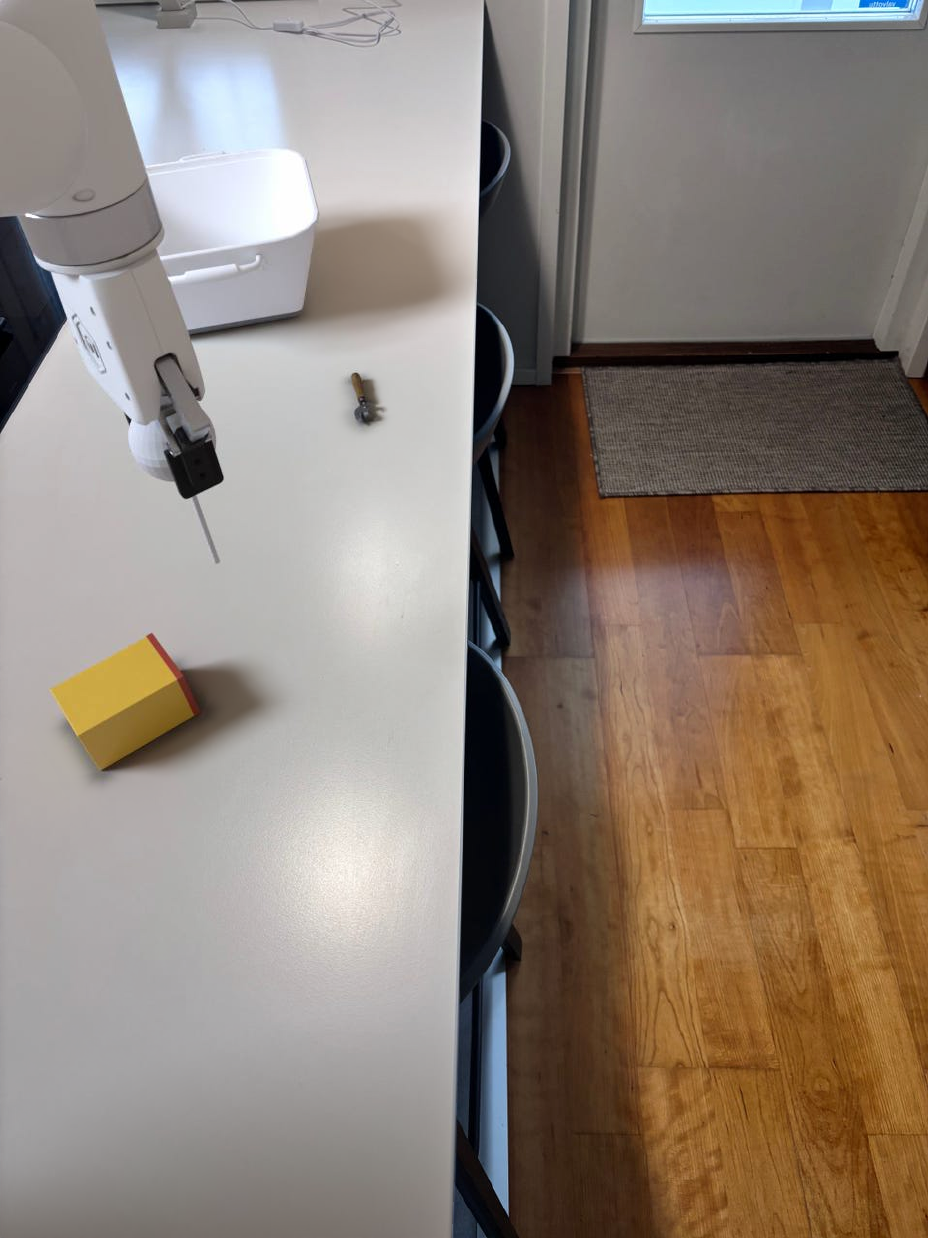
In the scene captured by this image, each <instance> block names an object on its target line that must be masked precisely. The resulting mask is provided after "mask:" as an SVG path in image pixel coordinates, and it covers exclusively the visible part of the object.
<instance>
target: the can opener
mask: <svg viewBox="0 0 928 1238" xmlns="http://www.w3.org/2000/svg"><path fill="white" fill-rule="evenodd" d="M350 379H351V385H352V387H353V389H354V392H355V394H356V398H357V402H358V404H359V406H357V407H356V408H355V409H354V412H353V414H354V415H353V416H354V418H355V419H356V421H357V422H359V423H361V424H364V420H363V417H364V419H365V421H366V422H367V421H370V420H371V416H370V412H369V410H368V408H369V407H371V410H373V409H374V408H375V404H374V403H372V402H367V401H368V399H367V395H366V393H365V387H364V383H363V380H362V378H361V375H360V374H359V372H352V373H351V375H350ZM362 413H363V417H362Z"/></svg>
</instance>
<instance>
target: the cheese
mask: <svg viewBox="0 0 928 1238" xmlns="http://www.w3.org/2000/svg"><path fill="white" fill-rule="evenodd" d="M49 691H50V693H51V694H52V696H53V697H54V699H55V701H56V703H57V705H58V706H59V708H60V709H61V712H62V713H63V715H64V717H65V718H66V720H67V721H68V723H69V725H70V727H71V728H72V730H73V732H74V733H75V735H76V737H77V738H78V740H79V741H80V743H81V744H82V746H83V747H84V749H85V750H86V752H87V754H88V755H89V757H90V758H91V760H92V762H93V763H94V764H95V765H96V767H97V769H98V770H99V771H103V770H104V769H107V768H108V767H110V766H112V765H113V764H114V763H116V762H119V761H120V760H122V759H123V758H125V757H126V756H129V755H131V754H132V753H134V752H135V751H137V750H139V749H141V748H142V747H144V746H146V745H147V744H150V743H151V742H153V741H154V740H156V739H157V738H159V737H161V736H162V735H164V734H166V733H167V732H169V731H171V730H172V729H174V728H176V727H178V726H179V725H181V724H183V723H185V722H186V721H189V720H190V719H191V718H194V717H197V716H198V715H200V714H201V710H200V708H199V706H198V703H197V701H196V699H195V697H194V695H193V693H192V691H191V688H190V686H189V684H188V682H187V679H186V677H185V675H184V674H183V673H182V672H181V670H180V669H179V667H178V666H177V664H176V663H175V662H174V661H173V659H172V658H171V656H170V655H169V654H168V653H167V651H166V649H165V648H164V647H163V645H162V644H161V643H160V642H159V639H157V637H156V636H155V635H154V633H152V632H151V633H148V634H147V635H145V637H144V638H141V639H140V640H138V641H136V642H134V643H132V644H130V645H128V646H126V647H124V648H123V649H121V650H119V651H117V652H116V653H114V654H111V655H110V656H108V657H107V658H105V659H103V660H101V661H99V662H97V663H96V664H93V665H91V666H90V667H88V668H86V669H84V670H82V671H81V672H79V673H77V674H75V675H73V676H72V677H70V678H67V679H65V680H64V681H62V682H61V683H58V684H56V685H55V686H53V687H51V688H49Z"/></svg>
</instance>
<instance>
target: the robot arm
mask: <svg viewBox="0 0 928 1238" xmlns="http://www.w3.org/2000/svg"><path fill="white" fill-rule="evenodd" d="M97 9H98V8H97V6H96V3H95V0H0V218H5V217H6V218H7V217H17V220H18V222H19V224H20V227H21V229H22V231H23V233H24V236H25V238H26V240H27V244H28V245H29V247H30V250H31V253H32V254H33V257H34V260H35V262H36V264H37V265H38V266H39V267H40V268H42V269H43V270H44V271H45V270H46V271H48V272H50V274H51V277H52V280H53V283H54V285H55V288H56V289H55V290H56V291H57V293H58V297H59V301H60V302H61V305H62V308H63V310H64V313H65V316H66V319H67V322H68V324H69V327H70V330H71V333H72V335H73V339H74V341H75V344H76V346H77V349H78V352H79V355H80V357H81V360H82V361H83V364H84V366H85V368H86V369H87V371H88V372H89V375H90V376H91V377H92V378H93V379H94V381H95V382H96V383H97V384H98V385H99V386H100V387H101V388H102V389H103V391H104V392H105V393H106V394H107V395H108V396H109V397H110V398H111V400H112V401H113V402H114V403H115V405H117V406H118V407H119V409H121V410H122V412H123V415H124V416H125V419H126V421H127V424H128V426H129V427H130V423H131V420H133V421H134V422H136V423H138V424H141V425H145V426H146V425H149V424H150V423H149V422H152V421H155V423H156V425H157V427H158V429H159V431H160V433H161V435H162V437H163V440H164V442H165V444H166V446H167V448H168V449H167V450H165V451H163V452H164V454H165V457H166V460H167V462H168V465H169V468H170V470H171V473H172V476H173V478H174V481H175V482H174V484H175V487H176V489H177V492H178V494H179V495H180V496H181V498H182V499H184V500H189V499H191V497H193V496H195V495H196V496H198V495H199V494H201V493H204V492H205V491H207V490H210V489H212V488H214V487H215V486H218V485H220V484H221V483H223V482H224V480H225V476H224V472H223V470H222V467H221V464H220V461H219V458H218V454H217V452H216V449H215V448H214V445H213V442H212V437H211V434H210V431H209V429H210V423H209V421H208V419H207V417H206V415H205V413H206V412H205V411H204V409H203V408H202V407H201V405H200V403H199V402H201V401H203V399H204V396H205V393H206V387H205V382H204V378H203V374H202V370H201V366H200V364H199V360H198V356H197V353H196V351H195V347H194V344H193V341H192V339H191V335H189V333H188V330H187V327H186V325H185V322H184V319H183V316H182V314H181V311H180V308H179V305H178V303H177V300H176V297H175V295H174V292H173V290H172V287H171V282H170V280H169V279H168V277H167V274H166V272H165V269H164V267H163V264H162V262H161V259H160V257H159V254H158V252H157V250H156V248H157V247H158V246H159V245H160V243H161V242H162V240H163V238H164V235H165V231H164V227H163V224H162V221H161V217H160V214H159V210H158V207H157V204H156V201H155V197H154V194H153V191H152V188H151V184H150V181H149V178H148V175H147V171H146V168H145V166H146V165H145V162H144V159H143V156H142V153H141V148H140V146H139V143H138V139H137V136H136V133H135V129H134V126H133V123H132V120H131V117H130V112H129V111H128V107H127V104H126V101H125V98H124V94H123V90H122V87H121V85H120V81H119V77H118V74H117V71H116V68H115V64H114V62H113V61H114V60H113V58H112V55H111V52H110V48H109V45H108V41H107V39H106V35H105V32H104V29H103V25H102V22H101V18H100V15H99V13H98V10H97ZM163 396H168V398H169V400H170V401H171V402H168V403H166V404H164V405H162V406H161V397H163ZM202 409H203V410H202ZM203 411H204V412H205V413H204V412H203ZM175 413H177V414H178V415H179V418H180V420H181V427H179V428H177V429H176V431H175V433H174V434H173V432H172V429H171V427H170V425H169V423H168V421H167V419H166V417H168V416H170V415H173V414H175ZM129 427H128V428H129Z"/></svg>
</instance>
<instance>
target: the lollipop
mask: <svg viewBox="0 0 928 1238" xmlns="http://www.w3.org/2000/svg"><path fill="white" fill-rule="evenodd" d="M168 402H171V401H170V400H169V398H168V396H163V397H161V406H162V405H164V404H166V403H168ZM202 410H203V412H204V413H205V415H206V417H207V419H208V421H209V423H210V429H209V431H210V434H211V437H212V442H213V445H214V448H215V450H216V449H217V434H216V430H215V427H214V425H213V422H212V419H211V418H210V417H209V416H208V414H207V412H206V411H204V409H203V408H202ZM166 419H167V421H168V423H169V425H170V427H171V429H172V432H173V434H174V433H175V431H176V429H177V428H179V427H181V420H180V418H179V415H178V414H177V413H175V414H173V415H170V416H168V417H166ZM149 423H150V424H149V425H146V426H145V425H141V424H138V423H136V422H134V421H133V420H131V423H130V427H128V432H127V433H128V434H127V436H128V437H127V438H128V440H127V441H128V446H129V449H130V453H131V455H132V457H133V459H134V461H135V462H136V463H137V465H138V466H139V467H140V468H141V470H143V471H144V472H146V473H147V474H148V475H150V476H152V477H153V478H156V479H158V480H161V481H165V482H169V483H170V482H172V483H175V481H174V478H173V476H172V473H171V470H170V468H169V465H168V462H167V460H166V457H165V454H164V452H163V451H165V450H167V449H168V448H167V446H166V444H165V442H164V440H163V437H162V435H161V433H160V431H159V429H158V427H157V425H156V423H155V421H152V422H149ZM190 500H191V503H192V506H193V509H194V511H195V514H196V517H197V519H198V522H199V525H200V528H201V530H202V533H203V536H204V539H205V541H206V545H207V547H208V549H209V550H208V551H209V553H210V555H211V557H212V562H213V564H216V565H218V564H220V562H221V560H220V557H219V554H218V552H217V548H216V546H215V542H214V541H213V538H212V535H211V532H210V529H209V527H208V524H207V522H206V521H207V520H206V517H205V516H204V513H203V509H202V507H201V505H200V501H199V499H198V495H195V496H193V497H191V498H190Z"/></svg>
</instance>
